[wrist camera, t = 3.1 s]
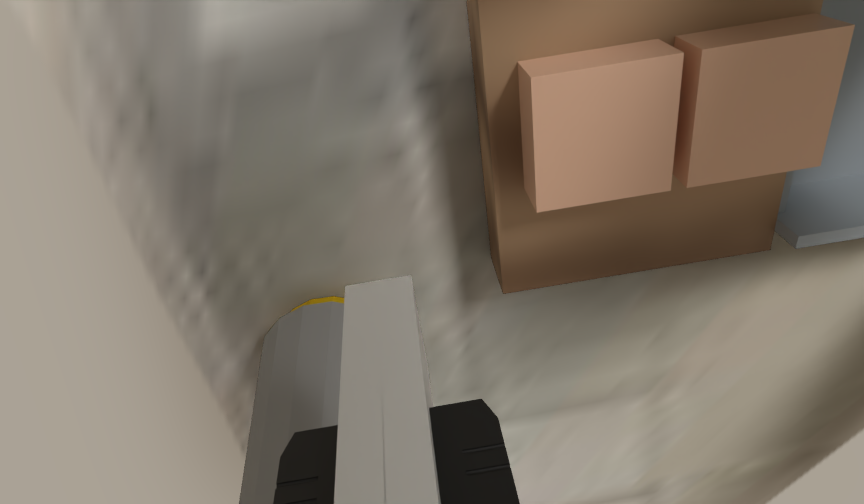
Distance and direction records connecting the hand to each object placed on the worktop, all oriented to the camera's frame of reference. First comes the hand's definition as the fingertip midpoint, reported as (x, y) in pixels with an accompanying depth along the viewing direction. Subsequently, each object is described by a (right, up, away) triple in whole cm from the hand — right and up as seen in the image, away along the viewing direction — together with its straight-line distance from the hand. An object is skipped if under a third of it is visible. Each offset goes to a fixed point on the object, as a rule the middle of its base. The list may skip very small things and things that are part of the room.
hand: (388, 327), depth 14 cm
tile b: (+12, +8, +8) cm, 17 cm away
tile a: (+7, +7, +8) cm, 13 cm away
